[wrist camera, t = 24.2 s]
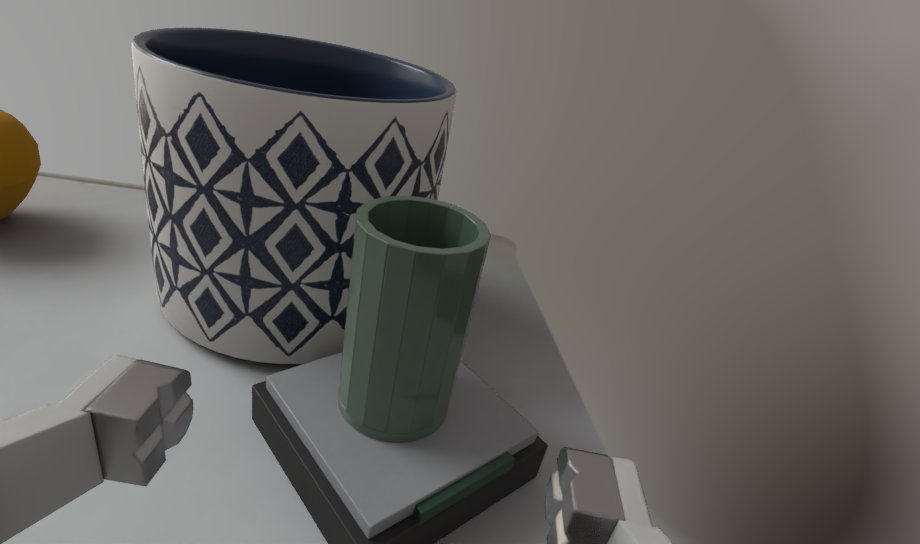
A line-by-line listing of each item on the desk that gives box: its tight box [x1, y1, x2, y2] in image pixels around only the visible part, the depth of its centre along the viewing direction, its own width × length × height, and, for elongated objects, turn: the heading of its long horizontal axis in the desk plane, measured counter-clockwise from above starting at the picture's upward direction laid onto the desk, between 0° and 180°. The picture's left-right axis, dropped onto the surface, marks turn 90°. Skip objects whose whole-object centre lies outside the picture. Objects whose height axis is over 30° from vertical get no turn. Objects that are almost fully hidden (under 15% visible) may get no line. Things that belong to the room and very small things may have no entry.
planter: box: [132, 28, 456, 364], centre depth 35 cm, size 18×18×16 cm
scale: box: [252, 352, 548, 544], centre depth 27 cm, size 11×11×3 cm
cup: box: [338, 196, 491, 443], centre depth 24 cm, size 6×6×10 cm
